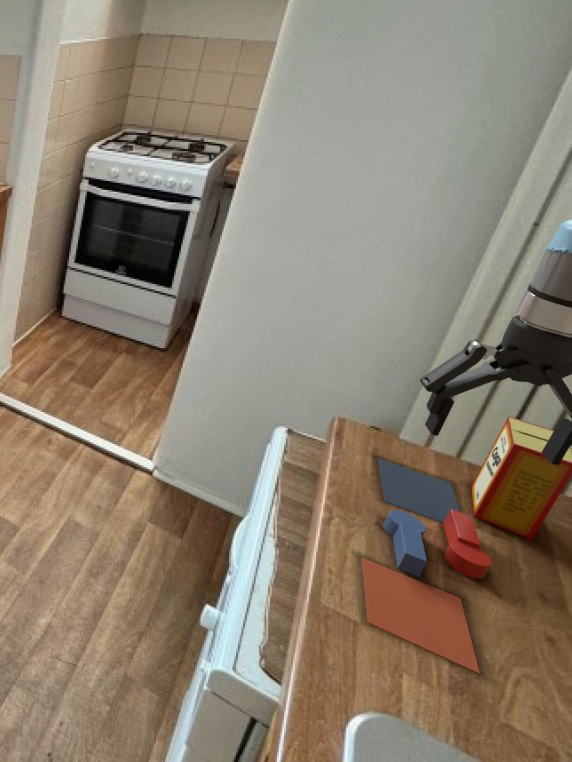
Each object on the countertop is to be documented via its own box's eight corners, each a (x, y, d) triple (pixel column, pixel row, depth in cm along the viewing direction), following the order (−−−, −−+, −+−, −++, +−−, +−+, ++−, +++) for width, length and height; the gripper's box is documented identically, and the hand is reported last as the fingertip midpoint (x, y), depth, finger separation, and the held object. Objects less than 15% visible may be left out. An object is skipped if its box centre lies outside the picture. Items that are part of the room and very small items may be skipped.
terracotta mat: (459, 600, 86) (460, 598, 86) (478, 676, 77) (480, 673, 76) (360, 559, 92) (361, 557, 92) (366, 624, 83) (368, 622, 82)
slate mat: (450, 485, 107) (451, 483, 107) (464, 533, 97) (466, 531, 97) (377, 460, 112) (378, 458, 112) (383, 503, 103) (384, 501, 103)
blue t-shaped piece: (427, 582, 89) (436, 565, 87) (388, 566, 91) (396, 549, 90) (416, 533, 97) (425, 516, 96) (381, 519, 100) (388, 503, 98)
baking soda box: (530, 541, 96) (578, 463, 90) (473, 518, 100) (515, 442, 94) (524, 507, 102) (568, 432, 96) (470, 487, 106) (509, 414, 101)
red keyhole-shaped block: (433, 521, 99) (442, 505, 98) (470, 535, 97) (480, 519, 95) (445, 569, 91) (455, 552, 90) (486, 586, 88) (497, 568, 87)
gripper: (662, 334, 83) (588, 455, 91) (426, 294, 93) (378, 406, 101) (704, 362, 77) (621, 489, 84) (447, 316, 87) (393, 433, 95)
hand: (488, 444), depth 93 cm, fingers open, 13 cm apart
